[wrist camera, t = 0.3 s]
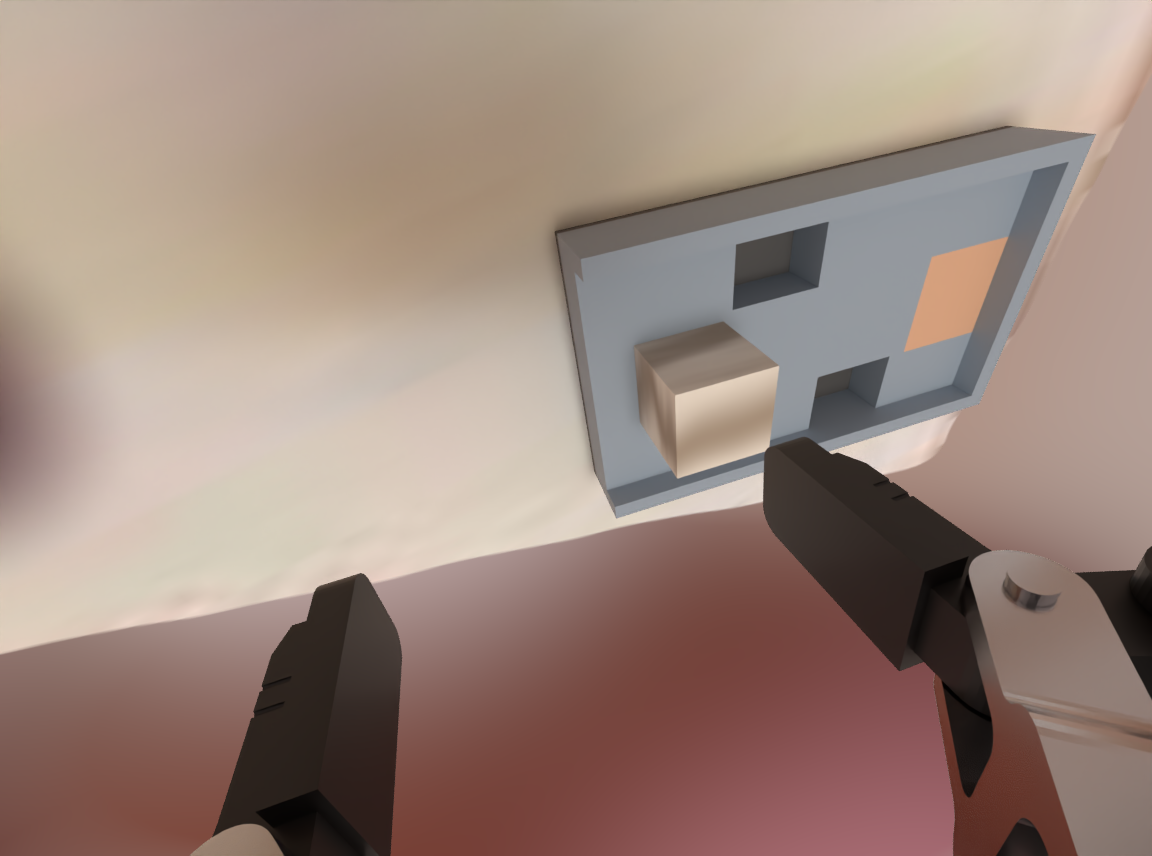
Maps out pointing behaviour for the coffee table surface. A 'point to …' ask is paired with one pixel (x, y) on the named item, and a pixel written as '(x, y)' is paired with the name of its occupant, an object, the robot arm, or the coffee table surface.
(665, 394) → the cream cube
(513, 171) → the coffee table surface
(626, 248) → the track
